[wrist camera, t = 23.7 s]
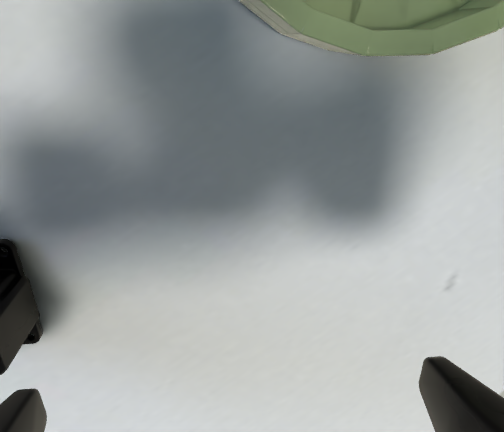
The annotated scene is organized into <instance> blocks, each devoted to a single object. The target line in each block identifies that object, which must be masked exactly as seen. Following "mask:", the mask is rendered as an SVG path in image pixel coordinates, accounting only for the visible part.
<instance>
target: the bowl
mask: <svg viewBox="0 0 504 432" xmlns="http://www.w3.org/2000/svg"><path fill="white" fill-rule="evenodd" d="M238 1H240V2H241V3H242V4H243V5H245V6H246V7H247V8H248V9H250V10H251V11H252V12H253V13H255V14H256V15H257V16H258V17H260V18H261V19H262V20H263V21H265V22H266V23H267V24H268V25H270V26H271V27H272V28H273V29H275V30H276V31H277V32H278V33H281V34H282V35H285V36H288V37H291V38H294V39H296V40H299V41H302V42H305V43H308V44H311V45H314V46H317V47H320V48H322V49H325V50H328V51H334V52H341V53H347V54H353V55H360V56H409V55H430V54H435V53H438V52H441V51H444V50H446V49H449V48H452V47H455V46H457V45H460V44H463V43H466V42H468V41H471V40H474V39H477V38H479V37H482V36H485V35H488V34H490V33H493V32H496V31H497V30H498V29H501V28H502V27H504V0H238Z"/></svg>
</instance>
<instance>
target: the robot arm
mask: <svg viewBox="0 0 504 432" xmlns="http://www.w3.org/2000/svg"><path fill="white" fill-rule="evenodd" d="M1 247H3V248H5V249H6V250H7V251H8V252H4V251H3V250H2V249H1ZM39 317H40V314H39V311H38V308H37V304H36V301H35V298H34V295H33V291H32V288H31V285H30V282H29V279H28V278H27V277H26V276H25V274H24V271H23V267H22V264H21V261H20V258H19V254H18V251H17V248H16V246H15V244H14V243H13V242H12V241H10V240H7V239H0V375H2V374H3V373H4V372H5V371H6V370H7V369H8V367H9V365H10V364H11V362H12V361H13V359H14V357H15V356H16V354H17V352H18V351H19V349H20V348H21V346H22V344H33V343H36V342H38V341H39V339H40V338H41V336H42V328H41V325H40V322H39V319H38V318H39ZM29 333H32V334H34V335H31V334H29ZM419 389H420V392H421V395H422V398H423V400H424V403H425V406H426V408H427V411H428V414H429V416H430V419H431V421H432V424H433V427H434V429H435V432H504V398H503V397H501V396H500V395H498V394H497V393H496V392H494V391H493V390H491V389H490V388H488V387H487V386H485V385H484V384H482V383H481V382H480V381H478V380H477V379H475V378H474V377H472V376H471V375H469V374H468V373H466V372H465V371H464V370H462V369H461V368H459V367H458V366H456V365H455V364H453V363H452V362H450V361H449V360H448V359H446V358H444V357H441V356H438V357H428V358H426V359H425V360H424V362H423V366H422V371H421V375H420V379H419ZM46 421H47V415H46V411H45V408H44V405H43V402H42V399H41V396H40V393H39V391H38V390H37V389H22V390H17V391H16V392H14V393H13V394H12V395H11V396H9V397H8V398H7V399H6V400H5V401H4V402H3V403H1V404H0V432H44V430H45V426H46Z"/></svg>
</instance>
